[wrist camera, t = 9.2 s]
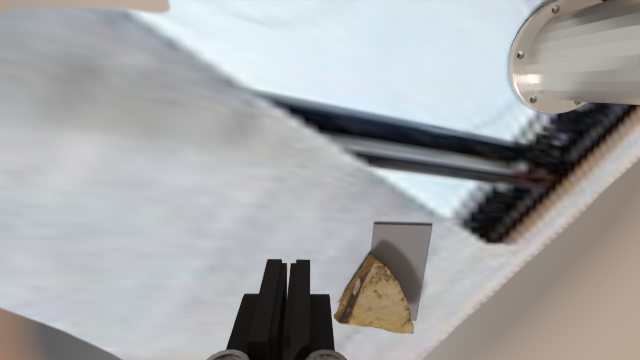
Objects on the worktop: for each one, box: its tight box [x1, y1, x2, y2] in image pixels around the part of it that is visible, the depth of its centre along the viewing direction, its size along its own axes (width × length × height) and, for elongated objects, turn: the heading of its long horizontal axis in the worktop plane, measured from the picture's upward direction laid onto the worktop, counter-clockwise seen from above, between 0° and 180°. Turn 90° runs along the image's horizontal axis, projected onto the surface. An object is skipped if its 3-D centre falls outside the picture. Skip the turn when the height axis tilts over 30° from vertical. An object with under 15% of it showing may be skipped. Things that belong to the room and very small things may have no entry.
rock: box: [334, 254, 414, 334], centre depth 43 cm, size 11×9×10 cm
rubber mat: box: [371, 224, 432, 321], centre depth 43 cm, size 8×16×1 cm, turn 178°
